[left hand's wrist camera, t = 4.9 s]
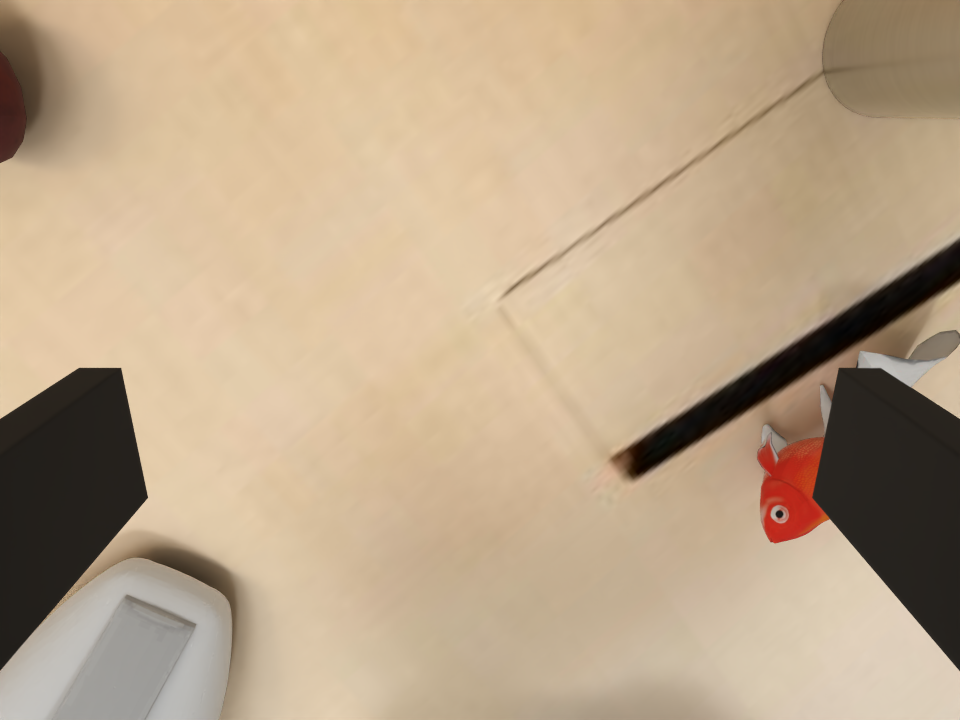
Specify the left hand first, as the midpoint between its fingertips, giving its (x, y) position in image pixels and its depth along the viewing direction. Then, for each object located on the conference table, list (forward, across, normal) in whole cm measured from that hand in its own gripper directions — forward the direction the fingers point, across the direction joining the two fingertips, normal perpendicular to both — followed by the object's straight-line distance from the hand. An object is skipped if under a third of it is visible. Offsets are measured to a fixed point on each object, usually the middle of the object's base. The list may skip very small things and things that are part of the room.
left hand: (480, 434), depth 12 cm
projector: (+28, +27, +34) cm, 52 cm away
